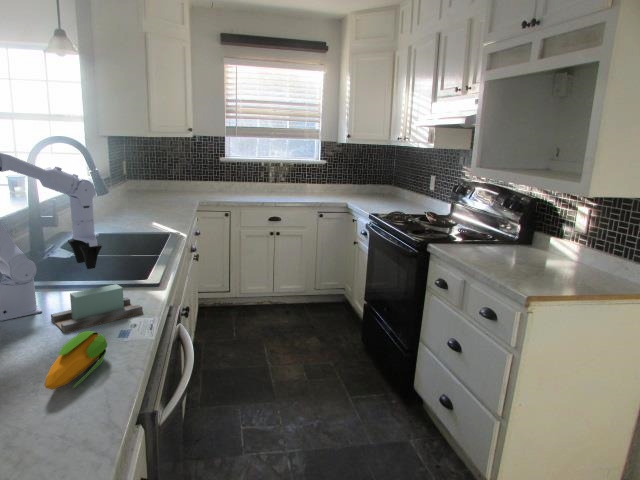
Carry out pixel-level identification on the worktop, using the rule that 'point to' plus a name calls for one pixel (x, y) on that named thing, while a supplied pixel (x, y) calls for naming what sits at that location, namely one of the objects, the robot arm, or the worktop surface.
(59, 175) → the robot arm
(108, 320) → the track
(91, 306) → the green block
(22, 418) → the worktop surface
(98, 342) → the corn
